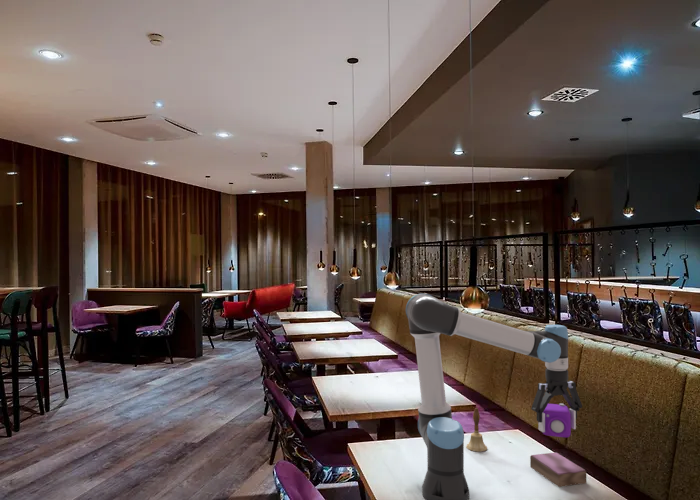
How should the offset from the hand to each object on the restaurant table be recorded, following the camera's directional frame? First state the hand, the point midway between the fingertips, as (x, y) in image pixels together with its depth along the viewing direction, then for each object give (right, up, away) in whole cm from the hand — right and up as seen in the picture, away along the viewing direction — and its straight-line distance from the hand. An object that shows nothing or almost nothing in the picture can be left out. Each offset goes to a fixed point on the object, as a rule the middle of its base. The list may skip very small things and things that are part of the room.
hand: (557, 429), depth 174 cm
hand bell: (-22, -17, +24) cm, 37 cm away
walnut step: (0, -16, 0) cm, 16 cm away
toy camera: (0, -2, 0) cm, 2 cm away
